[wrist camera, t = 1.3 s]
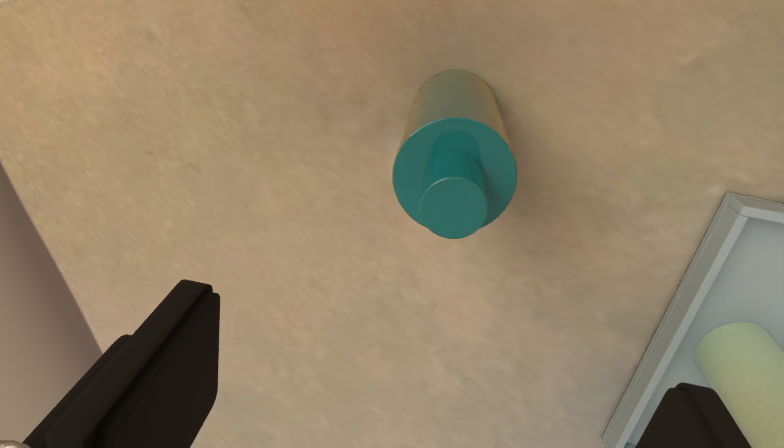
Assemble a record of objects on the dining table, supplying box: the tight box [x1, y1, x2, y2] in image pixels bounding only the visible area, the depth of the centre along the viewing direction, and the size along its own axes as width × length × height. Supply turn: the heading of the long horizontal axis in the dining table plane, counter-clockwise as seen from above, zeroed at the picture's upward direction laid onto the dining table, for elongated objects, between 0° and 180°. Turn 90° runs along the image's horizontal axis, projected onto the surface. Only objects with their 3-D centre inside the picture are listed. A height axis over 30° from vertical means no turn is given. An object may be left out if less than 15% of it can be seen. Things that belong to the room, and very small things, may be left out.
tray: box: [602, 192, 784, 448], centre depth 35 cm, size 21×10×2 cm, turn 170°
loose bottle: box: [393, 70, 517, 239], centre depth 24 cm, size 5×5×14 cm
